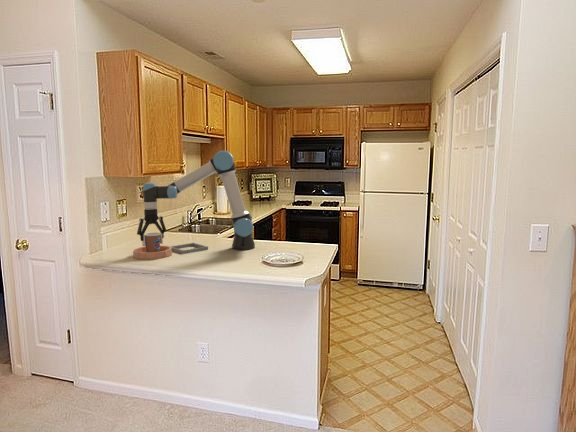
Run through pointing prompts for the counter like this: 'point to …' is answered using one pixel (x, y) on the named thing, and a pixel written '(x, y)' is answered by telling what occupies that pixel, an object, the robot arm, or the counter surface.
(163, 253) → the terracotta bowl
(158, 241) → the coffee cup
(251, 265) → the counter surface
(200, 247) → the tray
